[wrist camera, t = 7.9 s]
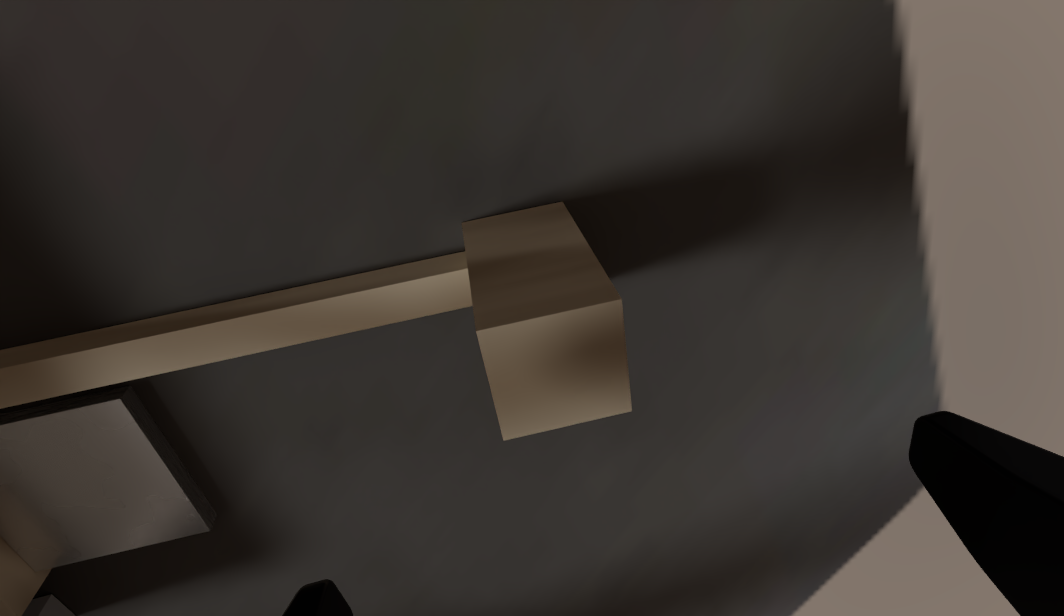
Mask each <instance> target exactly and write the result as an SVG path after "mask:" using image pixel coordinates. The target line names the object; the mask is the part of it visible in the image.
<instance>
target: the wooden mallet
mask: <svg viewBox="0 0 1064 616" xmlns="http://www.w3.org/2000/svg"><path fill="white" fill-rule="evenodd" d="M462 229H463V237H464V244H465V251H464V252H459V253H454V254H450V255H445V256H440V257H435V258H431V259H426V260H421V261H417V262H412V263H407V264H403V265H398V266H393V267H388V268H384V269H379V270H374V271H370V272H365V273H360V274H356V275H351V276H346V277H341V278H337V279H332V280H327V281H323V282H318V283H313V284H309V285H304V286H299V287H294V288H290V289H285V290H280V291H276V292H271V293H266V294H262V295H257V296H252V297H247V298H243V299H238V300H233V301H229V302H224V303H219V304H215V305H210V306H205V307H200V308H196V309H191V310H186V311H182V312H177V313H172V314H168V315H163V316H158V317H153V318H149V319H144V320H139V321H135V322H130V323H125V324H121V325H116V326H111V327H106V328H102V329H97V330H92V331H88V332H83V333H78V334H74V335H69V336H64V337H59V338H55V339H50V340H45V341H41V342H36V343H31V344H27V345H22V346H17V347H12V348H8V349H3V350H0V409H1V408H6V407H11V406H15V405H20V404H24V403H29V402H34V401H38V400H43V399H47V398H52V397H56V396H61V395H66V394H70V393H75V392H79V391H84V390H89V389H93V388H98V387H102V386H107V385H112V384H116V383H121V382H125V381H130V380H134V379H139V378H144V377H148V376H153V375H157V374H162V373H167V372H171V371H176V370H180V369H185V368H189V367H194V366H199V365H203V364H208V363H212V362H217V361H222V360H226V359H231V358H235V357H240V356H245V355H249V354H254V353H258V352H263V351H267V350H272V349H277V348H281V347H286V346H290V345H295V344H300V343H304V342H309V341H313V340H318V339H322V338H327V337H332V336H336V335H341V334H345V333H350V332H355V331H359V330H364V329H368V328H373V327H378V326H382V325H387V324H391V323H396V322H400V321H405V320H410V319H414V318H419V317H423V316H428V315H433V314H437V313H442V312H446V311H451V310H455V309H460V308H465V307H469V306H473V312H474V319H475V327H476V333H477V337H478V341H479V345H480V349H481V353H482V357H483V361H484V365H485V369H486V373H487V377H488V380H489V384H490V388H491V392H492V396H493V400H494V404H495V408H496V412H497V416H498V420H499V424H500V428H501V432H502V436H503V440H509V439H513V438H517V437H522V436H526V435H530V434H535V433H539V432H543V431H548V430H552V429H556V428H561V427H565V426H569V425H573V424H578V423H582V422H586V421H591V420H595V419H599V418H604V417H608V416H612V415H617V414H621V413H625V412H630V411H632V407H631V396H630V385H629V374H628V363H627V353H626V342H625V331H624V320H623V309H622V299H621V297H620V296H619V294H618V292H617V291H616V289H615V287H614V286H613V284H612V282H611V281H610V279H609V277H608V276H607V274H606V273H605V271H604V269H603V268H602V266H601V264H600V263H599V261H598V259H597V258H596V256H595V254H594V253H593V251H592V249H591V248H590V246H589V245H588V243H587V241H586V240H585V238H584V236H583V235H582V233H581V231H580V230H579V228H578V226H577V225H576V223H575V221H574V220H573V218H572V216H571V215H570V213H569V212H568V210H567V208H566V207H565V205H564V203H563V202H557V203H553V204H548V205H543V206H538V207H534V208H529V209H524V210H519V211H515V212H510V213H505V214H500V215H496V216H491V217H486V218H481V219H476V220H472V221H467V222H462ZM51 569H52V568H50V569H45V570H41V571H37V572H35V571H34V570H33V569H32V568H31V567H30V566H29V565H28V564H27V563H26V562H25V561H24V560H23V559H22V558H21V557H20V556H19V554H18V553H17V552H16V551H15V550H14V549H13V548H12V547H11V546H10V545H9V544H8V543H7V542H6V541H5V540H4V539H3V538H2V537H1V536H0V616H22V614H23V613H24V611H25V610H26V608H27V607H28V605H29V604H30V602H31V600H32V599H33V597H34V596H35V594H36V593H37V591H38V590H39V588H40V586H41V585H42V583H43V582H44V580H45V579H46V577H47V576H48V574H49V572H50V571H51Z"/></svg>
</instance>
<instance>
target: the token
mask: <svg viewBox="0 0 1064 616" xmlns="http://www.w3.org/2000/svg"><path fill="white" fill-rule="evenodd" d="M216 516H217V514H216V513H215V511H214V510H213V508H212V507H211V505H210V504H209V502H208V501H207V499H206V498H205V496H204V495H203V493H202V492H201V490H200V489H199V487H198V486H197V484H196V483H195V481H194V480H193V478H192V477H191V475H190V474H189V472H188V471H187V469H186V468H185V466H184V465H183V463H182V462H181V460H180V459H179V457H178V456H177V454H176V453H175V451H174V450H173V448H172V447H171V445H170V444H169V442H168V441H167V439H166V438H165V436H164V435H163V433H162V432H161V431H160V429H159V428H158V426H157V425H156V423H155V422H154V420H153V419H152V417H151V416H150V414H149V413H148V411H147V410H146V408H145V407H144V405H143V404H142V402H141V401H140V399H139V398H138V396H137V395H136V393H135V392H134V390H133V389H132V387H131V386H130V385H129V386H125V387H120V388H116V389H111V390H107V391H102V392H98V393H93V394H89V395H84V396H80V397H75V398H71V399H66V400H62V401H57V402H53V403H48V404H44V405H39V406H35V407H30V408H26V409H21V410H16V411H12V412H7V413H3V414H0V536H1V537H2V538H3V539H4V540H5V541H6V542H7V543H8V544H9V545H10V546H11V547H12V548H13V549H14V550H15V551H16V552H17V553H18V554H19V556H20V557H21V558H22V559H23V560H24V561H25V562H26V563H27V564H28V565H29V566H30V567H31V568H32V569H33V570H34V571H35V572H37V571H41V570H45V569H50V568H54V567H58V566H62V565H67V564H71V563H75V562H80V561H84V560H88V559H92V558H97V557H101V556H105V555H110V554H114V553H118V552H122V551H127V550H131V549H135V548H139V547H144V546H148V545H152V544H157V543H161V542H165V541H169V540H174V539H178V538H182V537H186V536H191V535H195V534H199V533H204V532H208V531H211V528H212V526H213V523H214V521H215V518H216Z"/></svg>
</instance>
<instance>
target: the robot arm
mask: <svg viewBox="0 0 1064 616" xmlns="http://www.w3.org/2000/svg"><path fill="white" fill-rule="evenodd" d="M909 461H910V464H911V466H912V469H913V470H914V472H915V474H916V475H917V477H918V478H919V479H920V481H921V482H922V484H923V485H924V487H925V488H926V490H927V491H928V493H929V494H930V496H931V497H932V498H933V500H934V501H935V503H936V504H937V506H938V507H939V508H940V510H941V512H942V513H943V514H944V516H945V517H946V519H947V520H948V522H949V523H950V525H951V526H952V528H953V529H954V530H955V532H956V533H957V535H958V536H959V538H960V539H961V541H962V542H963V544H964V545H965V547H966V548H967V549H968V551H969V552H970V553H971V555H972V556H973V558H974V559H975V560H976V562H977V563H978V564H979V565H980V567H981V568H982V569H983V571H984V572H985V573H986V574H987V576H988V577H989V578H990V579H991V581H992V582H993V583H994V584H995V585H996V587H997V588H998V589H999V590H1000V592H1001V593H1002V594H1003V595H1004V596H1005V598H1006V599H1007V600H1008V601H1009V602H1010V604H1011V605H1012V606H1013V607H1014V608H1015V610H1016V611H1017V612H1018V613H1019V614H1020V616H1064V457H1063V456H1060V455H1058V454H1055V453H1053V452H1050V451H1047V450H1045V449H1042V448H1040V447H1038V446H1035V445H1032V444H1030V443H1027V442H1025V441H1022V440H1020V439H1017V438H1015V437H1012V436H1010V435H1007V434H1005V433H1002V432H1000V431H997V430H995V429H992V428H989V427H987V426H984V425H982V424H980V423H977V422H974V421H972V420H970V419H967V418H965V417H962V416H960V415H957V414H954V413H951V412H948V411H939V412H935V413H932V414H928V415H924V416H921V417H919V418H918V419H917V420H916V421H915V423H914V428H913V433H912V438H911V444H910V449H909ZM282 616H353V613H352V610H351V608H350V607H349V605H348V603H347V602H346V600H345V599H344V597H343V596H342V594H341V593H340V591H339V590H338V588H337V587H336V585H335V584H334V583H333V581H331V580H328V579H325V580H321V581H318V582H314V583H310V584H307V585H305V586H303V587H302V588H300V590H299V591H298V592H297V593H296V595H295V596H294V598H293V599H292V601H291V603H290V604H289V606H288V607H287V609H286V610H285V612H284V614H283V615H282Z"/></svg>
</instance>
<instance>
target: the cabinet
mask: <svg viewBox="0 0 1064 616" xmlns="http://www.w3.org/2000/svg"><path fill="white" fill-rule="evenodd" d="M22 616H75V615H74V614H73V613H72V612H71V611H70V610H69V609H68V608H67V607H65V606H64V605H63V604H62V603H61V602H60V601H59V600H58V599H57V598H55V597H54V596H53V595H52V594H50V595H47V596H43V597H39V598H36V599H32V600H31V602H30V604H29V605H28V607H27V608H26V610H25V611H24V613H23V614H22Z"/></svg>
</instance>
